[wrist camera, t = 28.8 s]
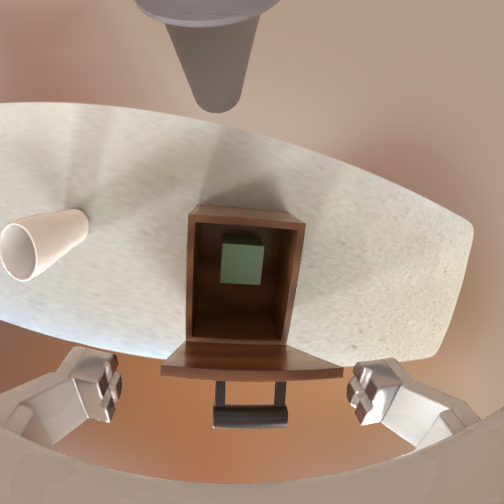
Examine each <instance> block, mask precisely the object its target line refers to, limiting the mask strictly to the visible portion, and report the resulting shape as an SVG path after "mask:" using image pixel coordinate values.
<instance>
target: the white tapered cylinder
mask: <svg viewBox="0 0 504 504" xmlns="http://www.w3.org/2000/svg"><path fill="white" fill-rule="evenodd" d="M88 232H89V222H88V219H87V217H86V215H85V214H84V213H83V212H82V211H81V210H79V209H75V208H73V209H68V210H63V211H56V212H49V213H41V214H35V215H30V216H26V217H23V218H20V219H17V220H15V221H13V222H10V223H8V224H7V225H6V226H5V227H4V228H3V230H2V232H1V235H0V257H1V260H2V263H3V265H4V267H5V269H6V270H7V272H8V273H9V274H10V275H11V276H12V277H13V278H15V279H16V280H19V281H28V280H30V279H32V278H33V277H35V276H37V275H39V274H40V273H42V272H43V271H45V270H46V269H48V268H49V267H50V266H52V265H53V264H54V263H55V262H56V261H58V260H59V259H60V258H61V257H62V256H63V255H65V254H66V253H67V252H68V251H70V250H71V249H72V248H73V247H75V246H76V245H77V244H79V243H81V242H82V241H84V240H85V238H86V237H87V235H88Z"/></svg>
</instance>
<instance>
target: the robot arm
mask: <svg viewBox="0 0 504 504" xmlns="http://www.w3.org/2000/svg"><path fill="white" fill-rule="evenodd" d="M117 366H118V360H117V356H116V355H115V354H113V353H107V352H103V351H98V350H93V349H87V348H83V347H79V346H76V347H73V348H72V350H71V351H70V352H69V354H68V355H67V357H66V358H65V359H64V361H63V362H62V364H61V365H60V366H59V368H58V369H57V371H56V372H55V373H54V372H50V373H48V374H45V375H43V376H41V377H38V378H36V379H34V380H32V381H29V382H27V383H25V384H22V385H20V386H17V387H15V388H13V389H10V390H8V391H6V392H3V393H1V394H0V504H504V407H502V408H500V409H499V410H497V411H496V412H494V413H492V414H491V415H489V416H487V417H486V418H484V419H482V420H481V419H480V418H479V417H478V415H477V414H476V413H475V412H474V411H473V410H472V409H471V407H470V406H469V405H468V404H467V403H466V402H464V401H462V400H460V399H458V398H455V397H453V396H451V395H448V394H446V393H444V392H441V391H439V390H437V389H434V388H432V387H430V386H427V385H425V384H423V383H421V382H418V381H417V382H415V381H414V380H413V379H412V378H411V377H410V375H409V374H408V373H407V372H406V371H405V369H404V368H403V367H402V366H401V365H400V364H399V362H398V361H397V360H396V359H394V358H386V359H381V360H374V361H365V362H357V364H356V365H355V367H354V369H353V373H354V375H355V376H354V377H353V378H352V379H351V380H350V381H349V383H348V386H347V398H348V401H349V403H350V404H351V405H352V406H354V407H355V408H356V410H355V414H356V416H357V418H358V420H359V422H360V424H361V425H366V424H371V423H377V422H381V423H382V424H384V425H385V426H387V427H388V428H389V429H391V430H392V431H394V432H395V433H397V434H398V435H399V436H401V437H402V438H404V439H405V440H407V441H408V442H409V443H411V444H412V445H414V446H415V447H416V448H415V449H414V451H413V452H411V453H408V454H405V455H402V456H399V457H396V458H393V459H390V460H387V461H384V462H380V463H377V464H373V465H370V466H366V467H362V468H358V469H354V470H350V471H345V472H341V473H336V474H330V475H325V476H320V477H313V478H306V479H300V480H291V481H281V482H267V483H247V484H245V483H243V484H227V483H201V482H188V481H178V480H169V479H162V478H155V477H148V476H143V475H138V474H132V473H127V472H123V471H119V470H114V469H110V468H106V467H103V466H99V465H95V464H92V463H88V462H85V461H82V460H79V459H76V458H73V457H70V456H67V455H64V454H62V453H59V452H57V450H56V448H55V447H54V445H53V444H55V443H56V442H57V441H59V440H60V439H61V438H63V437H64V436H65V435H67V434H68V433H69V432H71V431H72V430H73V429H75V428H76V427H77V426H79V425H80V424H81V423H83V422H84V421H85V420H87V418H91V419H96V420H100V421H105V422H111V419H112V417H113V414H114V411H115V406H114V402H116V401H117V400H119V398H120V395H121V388H122V381H121V380H122V379H121V374H120V373H119V372H118V371H117V370H116V368H117Z"/></svg>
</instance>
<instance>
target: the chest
mask: <svg viewBox="0 0 504 504" xmlns="http://www.w3.org/2000/svg"><path fill="white" fill-rule="evenodd" d="M305 226H306V224H305V223H304V222H302V221H301V220H299V219H298V218H296V217H294V216H293V215H291V214H290V213H288V212H278V211H267V210H256V209H245V208H232V207H219V206H205V205H196V206H195V208H194V209H193V210H192V211H191V212H190V213H189V215H188V234H187V259H186V341H199V342H213V343H233V344H266V345H286V343H287V338H288V332H289V327H290V321H291V316H292V310H293V304H294V298H295V292H296V286H297V280H298V274H299V268H300V261H301V254H302V248H303V241H304V234H305ZM223 234H224V235H238V236H252V237H260V239H261V241H262V243H263V245H264V256H263V265H262V274H261V283H260V285H249V284H231V283H220V266H221V251H222V237H223Z"/></svg>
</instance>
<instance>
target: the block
mask: <svg viewBox="0 0 504 504" xmlns="http://www.w3.org/2000/svg"><path fill="white" fill-rule="evenodd" d="M263 256H264V245H263V243H262V241H261V239H260V237H252V236H238V235H224V234H223V237H222V251H221V266H220V283H231V284H249V285H260V283H261V274H262V265H263Z"/></svg>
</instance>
